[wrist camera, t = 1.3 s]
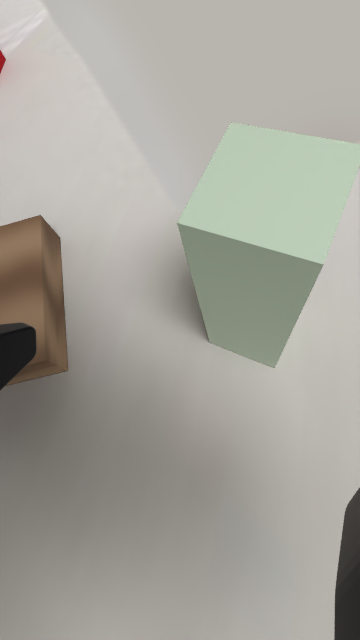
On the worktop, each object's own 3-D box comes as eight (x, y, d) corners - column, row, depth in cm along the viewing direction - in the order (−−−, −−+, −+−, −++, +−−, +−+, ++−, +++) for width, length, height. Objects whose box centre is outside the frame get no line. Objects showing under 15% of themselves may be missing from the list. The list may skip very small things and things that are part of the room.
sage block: (274, 368, 21) (323, 264, 9) (209, 342, 22) (177, 222, 10) (297, 307, 22) (367, 145, 10) (234, 286, 23) (231, 122, 12)
